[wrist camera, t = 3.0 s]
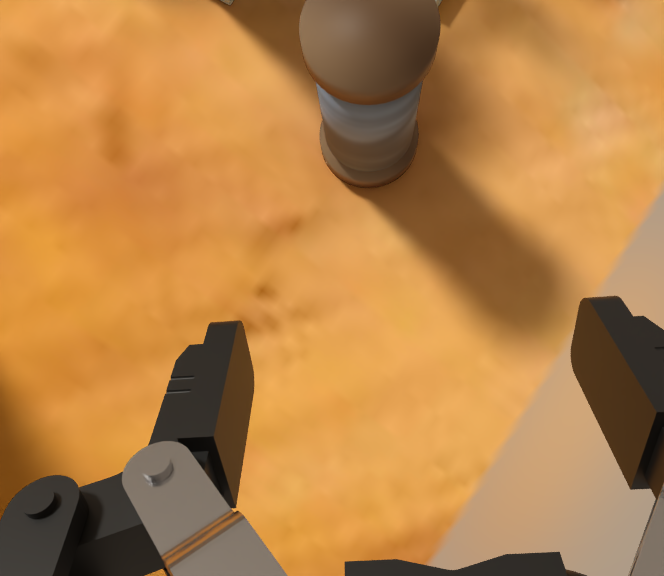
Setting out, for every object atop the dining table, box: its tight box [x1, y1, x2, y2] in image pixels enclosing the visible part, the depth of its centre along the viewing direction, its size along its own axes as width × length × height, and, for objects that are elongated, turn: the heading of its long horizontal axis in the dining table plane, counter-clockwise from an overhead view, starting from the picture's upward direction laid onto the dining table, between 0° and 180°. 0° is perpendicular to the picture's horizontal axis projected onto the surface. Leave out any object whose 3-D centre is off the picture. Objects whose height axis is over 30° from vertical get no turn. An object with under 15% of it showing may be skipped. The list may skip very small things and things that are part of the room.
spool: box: [299, 0, 441, 188], centre depth 25 cm, size 5×5×10 cm
